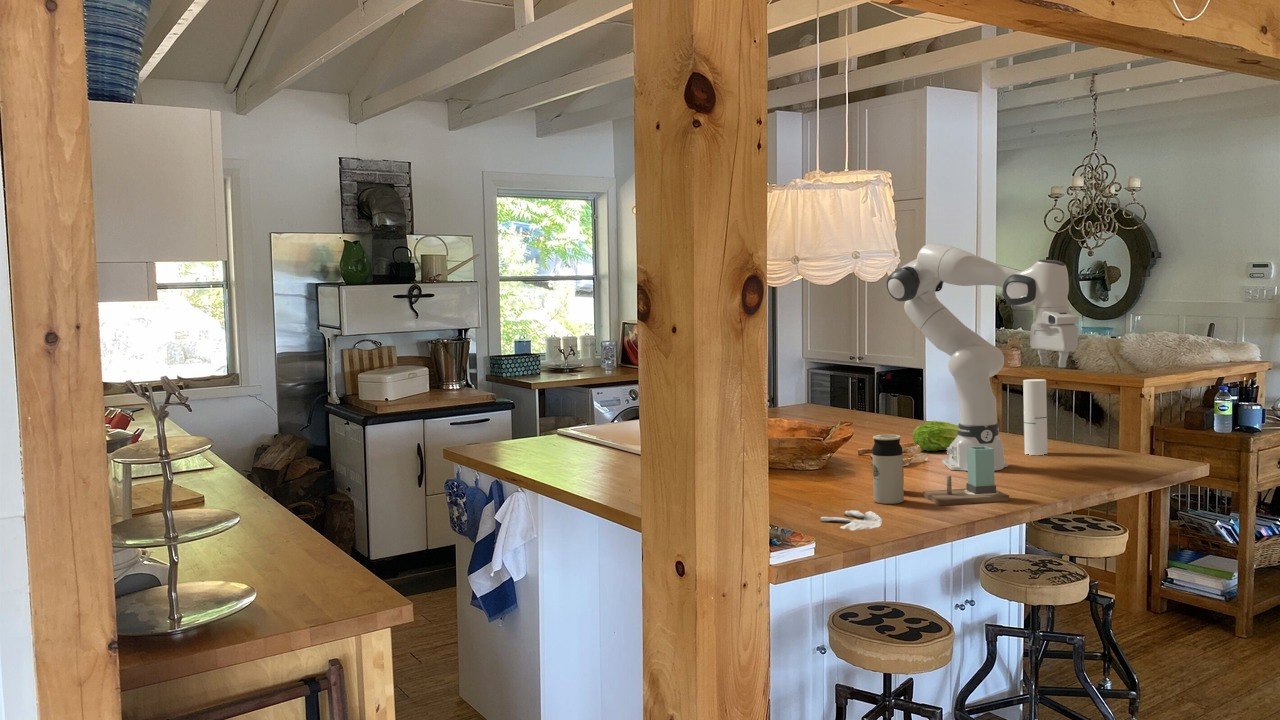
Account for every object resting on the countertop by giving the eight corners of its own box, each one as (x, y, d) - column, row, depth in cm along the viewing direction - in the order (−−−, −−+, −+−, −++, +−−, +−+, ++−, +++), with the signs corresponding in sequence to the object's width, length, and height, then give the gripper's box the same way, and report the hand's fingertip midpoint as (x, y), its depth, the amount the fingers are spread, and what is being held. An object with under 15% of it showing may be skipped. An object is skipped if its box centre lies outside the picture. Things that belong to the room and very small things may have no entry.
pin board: (923, 496, 275) (922, 473, 274) (989, 492, 276) (988, 469, 276) (940, 505, 263) (939, 481, 262) (1009, 500, 264) (1008, 476, 264)
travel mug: (901, 498, 274) (899, 433, 273) (906, 504, 266) (904, 438, 265) (872, 498, 275) (870, 434, 274) (876, 504, 267) (873, 438, 266)
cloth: (856, 536, 237) (855, 526, 237) (791, 521, 255) (791, 512, 255) (911, 522, 249) (911, 512, 249) (846, 509, 267) (846, 500, 267)
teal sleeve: (966, 490, 272) (965, 447, 272) (986, 488, 273) (985, 445, 272) (975, 494, 267) (974, 450, 266) (996, 492, 267) (995, 448, 266)
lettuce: (991, 435, 344) (975, 411, 354) (930, 437, 338) (914, 412, 347) (978, 460, 352) (962, 436, 361) (918, 462, 345) (903, 437, 354)
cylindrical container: (1049, 455, 328) (1048, 380, 327) (1026, 455, 330) (1025, 381, 328) (1045, 452, 335) (1043, 378, 334) (1023, 452, 337) (1021, 379, 335)
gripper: (1023, 317, 288) (1024, 364, 289) (1060, 318, 268) (1060, 369, 269) (1044, 316, 289) (1045, 363, 290) (1082, 317, 268) (1082, 368, 269)
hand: (1053, 366), depth 279 cm, fingers open, 8 cm apart
